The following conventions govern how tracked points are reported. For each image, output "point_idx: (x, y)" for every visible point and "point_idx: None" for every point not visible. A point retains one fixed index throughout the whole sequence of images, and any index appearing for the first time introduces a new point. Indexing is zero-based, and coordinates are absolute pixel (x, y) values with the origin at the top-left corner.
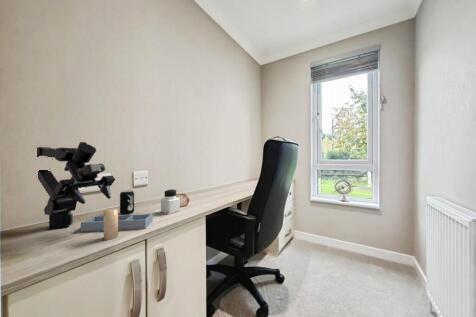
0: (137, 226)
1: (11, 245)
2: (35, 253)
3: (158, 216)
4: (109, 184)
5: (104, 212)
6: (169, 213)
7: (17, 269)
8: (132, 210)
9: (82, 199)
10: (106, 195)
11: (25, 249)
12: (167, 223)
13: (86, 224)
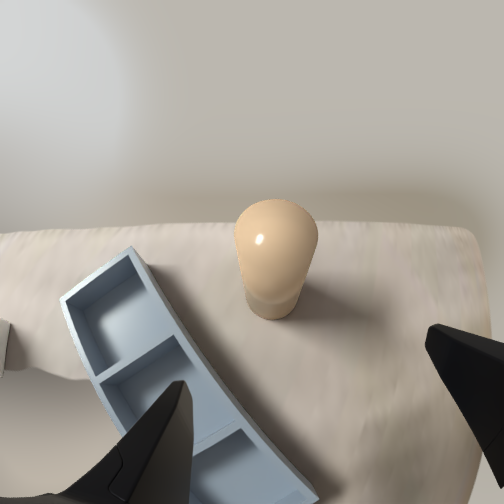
0: (157, 284)
1: (467, 483)
2: None
3: (33, 345)
4: (57, 501)
5: (316, 231)
6: (8, 322)
7: (474, 277)
8: (47, 494)
9: (459, 331)
10: (187, 445)
11: (464, 418)
12: (84, 241)
13: (300, 477)
